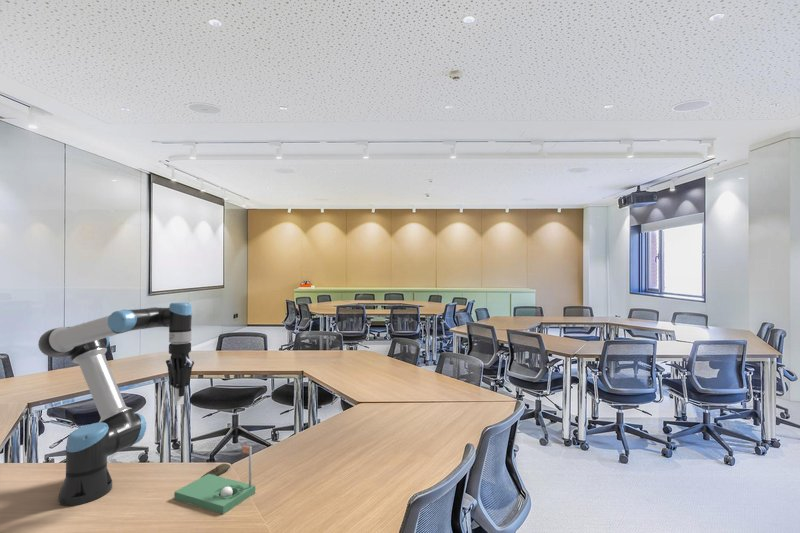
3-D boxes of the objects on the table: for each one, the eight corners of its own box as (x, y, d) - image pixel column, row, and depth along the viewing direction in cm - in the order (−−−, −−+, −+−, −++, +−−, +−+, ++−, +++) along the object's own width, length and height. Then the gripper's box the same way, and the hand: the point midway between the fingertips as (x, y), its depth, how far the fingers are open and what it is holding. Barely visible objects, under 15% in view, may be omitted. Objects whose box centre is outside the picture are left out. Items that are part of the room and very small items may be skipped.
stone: (223, 467, 159) (223, 461, 159) (232, 469, 157) (232, 463, 157) (196, 482, 147) (196, 476, 147) (205, 485, 145) (205, 479, 145)
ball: (215, 495, 134) (221, 487, 133) (225, 489, 138) (230, 481, 137) (222, 504, 132) (227, 496, 132) (231, 498, 136) (237, 490, 135)
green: (174, 499, 135) (175, 451, 136) (208, 480, 148) (209, 436, 148) (223, 514, 125) (223, 462, 126) (255, 492, 138) (255, 446, 139)
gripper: (159, 343, 147) (158, 405, 146) (182, 344, 142) (181, 409, 141) (177, 340, 154) (176, 400, 153) (200, 342, 149) (199, 403, 148)
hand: (179, 404), depth 147 cm, fingers closed
